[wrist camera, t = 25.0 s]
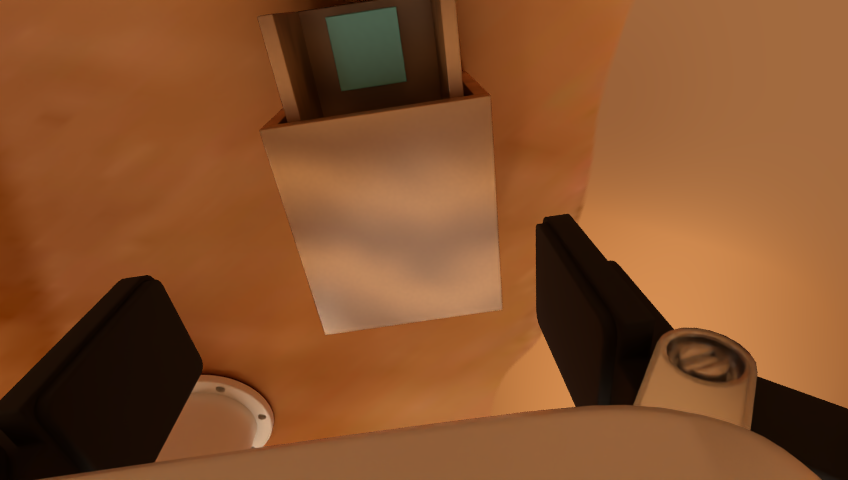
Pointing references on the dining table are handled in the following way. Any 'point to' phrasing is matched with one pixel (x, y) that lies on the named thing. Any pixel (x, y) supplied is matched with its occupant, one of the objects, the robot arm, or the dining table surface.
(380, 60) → the block
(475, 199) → the cabinet
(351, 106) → the drawer
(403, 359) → the dining table surface
